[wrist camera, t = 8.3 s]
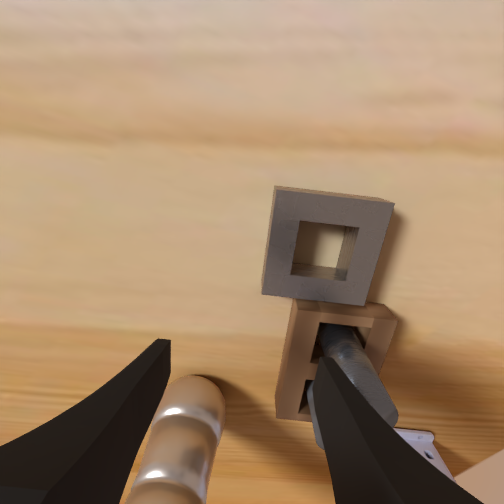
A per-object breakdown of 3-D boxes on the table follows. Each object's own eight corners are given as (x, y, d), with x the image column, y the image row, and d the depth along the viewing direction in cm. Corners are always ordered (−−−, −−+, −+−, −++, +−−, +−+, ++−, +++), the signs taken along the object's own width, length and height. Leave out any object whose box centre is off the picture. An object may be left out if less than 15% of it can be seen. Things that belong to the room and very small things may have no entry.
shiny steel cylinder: (351, 312, 23) (403, 401, 15) (346, 340, 24) (392, 437, 16) (317, 311, 23) (350, 398, 15) (314, 338, 24) (343, 435, 16)
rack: (383, 304, 23) (424, 352, 17) (350, 403, 27) (375, 468, 21) (294, 294, 23) (305, 339, 17) (274, 395, 27) (278, 458, 21)
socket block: (378, 197, 20) (394, 203, 17) (353, 290, 22) (363, 306, 20) (274, 185, 20) (276, 189, 17) (261, 280, 22) (261, 294, 20)
